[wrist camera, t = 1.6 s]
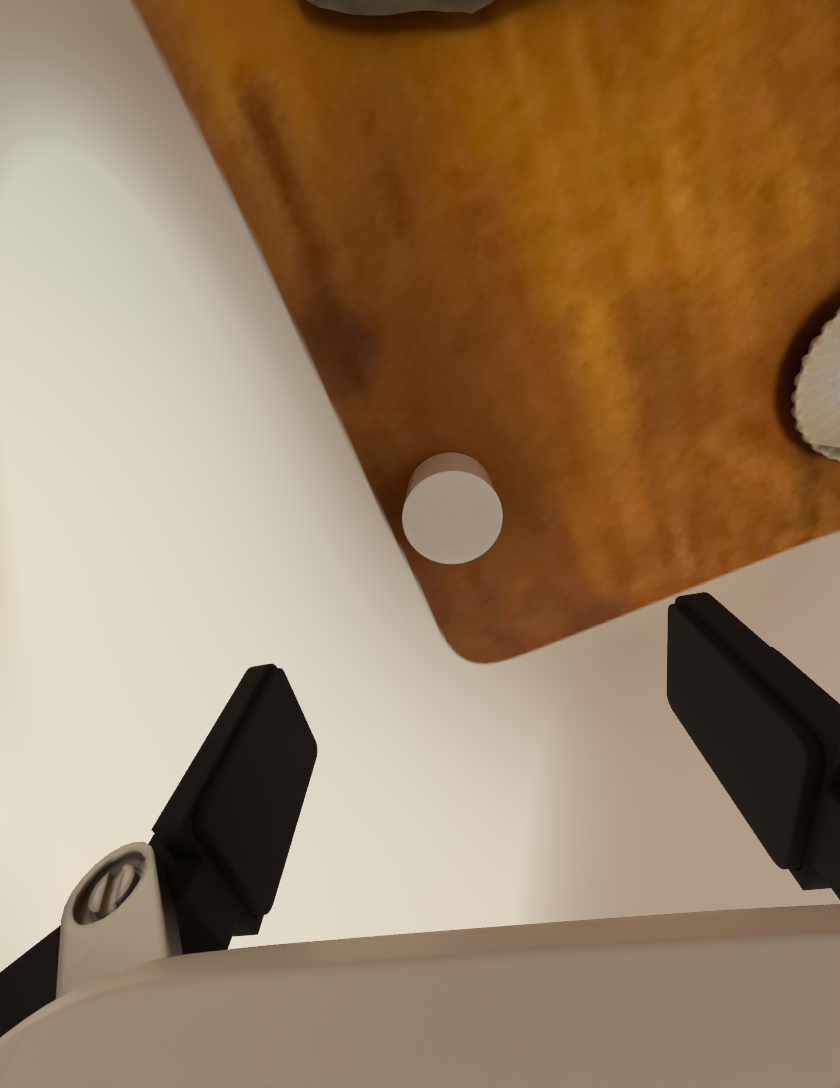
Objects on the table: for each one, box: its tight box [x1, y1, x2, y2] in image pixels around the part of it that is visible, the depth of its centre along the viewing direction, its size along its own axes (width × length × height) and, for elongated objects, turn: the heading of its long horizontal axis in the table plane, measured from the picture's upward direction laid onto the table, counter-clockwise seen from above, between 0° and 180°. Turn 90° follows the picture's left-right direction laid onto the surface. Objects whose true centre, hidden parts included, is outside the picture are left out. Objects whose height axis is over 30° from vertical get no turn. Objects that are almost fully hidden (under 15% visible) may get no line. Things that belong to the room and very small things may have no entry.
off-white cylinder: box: [402, 452, 503, 564], centre depth 21 cm, size 5×5×4 cm
